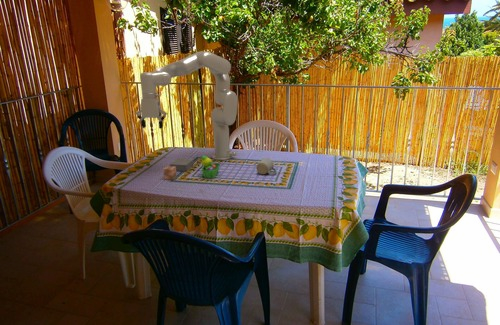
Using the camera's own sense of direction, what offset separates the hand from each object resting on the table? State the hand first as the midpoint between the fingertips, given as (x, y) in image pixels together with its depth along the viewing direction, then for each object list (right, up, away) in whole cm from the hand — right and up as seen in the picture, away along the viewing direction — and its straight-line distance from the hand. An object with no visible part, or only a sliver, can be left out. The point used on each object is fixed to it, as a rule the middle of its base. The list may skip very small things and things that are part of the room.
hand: (152, 127), depth 205 cm
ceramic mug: (+63, -25, +4) cm, 67 cm away
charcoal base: (+14, -22, +15) cm, 30 cm away
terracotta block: (+10, -27, 0) cm, 29 cm away
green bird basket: (+31, -26, +3) cm, 41 cm away
